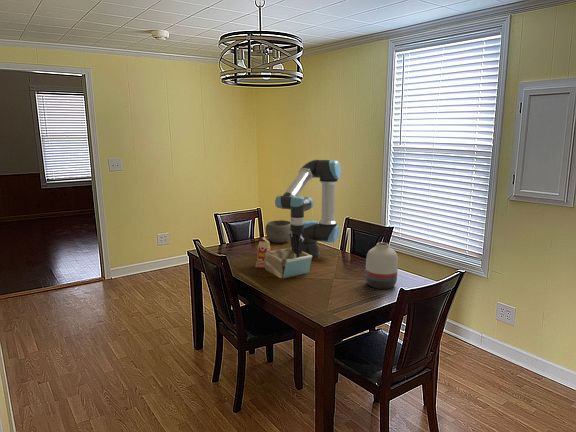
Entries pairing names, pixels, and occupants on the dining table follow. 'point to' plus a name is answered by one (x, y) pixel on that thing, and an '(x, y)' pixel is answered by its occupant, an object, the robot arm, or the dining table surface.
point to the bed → (279, 260)
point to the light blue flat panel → (297, 266)
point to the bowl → (278, 231)
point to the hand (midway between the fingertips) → (296, 263)
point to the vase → (381, 266)
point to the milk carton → (262, 252)
